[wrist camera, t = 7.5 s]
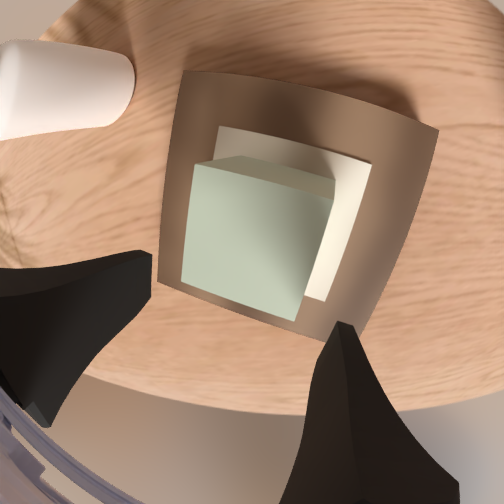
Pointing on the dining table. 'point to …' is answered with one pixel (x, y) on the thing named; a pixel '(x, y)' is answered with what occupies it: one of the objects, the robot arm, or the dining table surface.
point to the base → (309, 160)
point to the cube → (255, 231)
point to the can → (60, 87)
